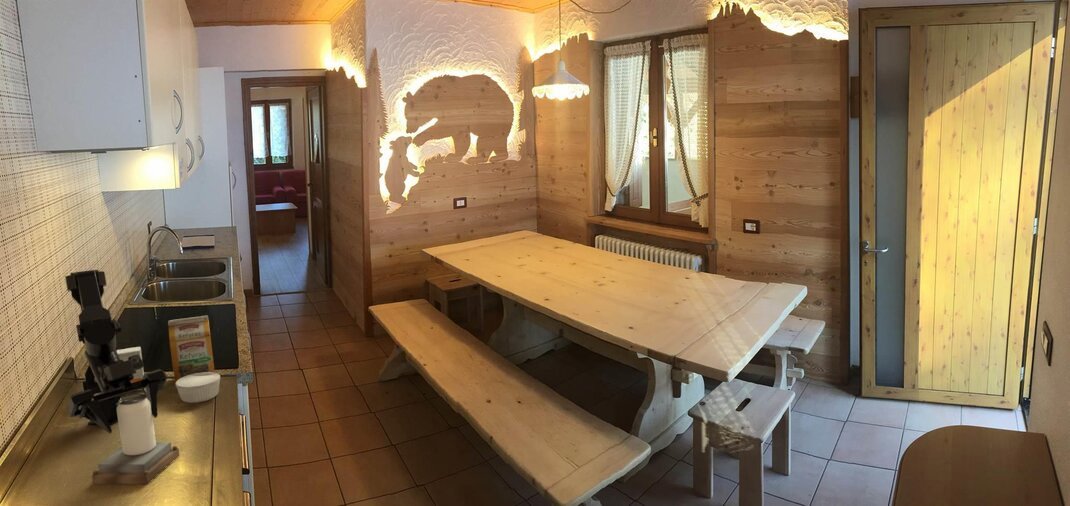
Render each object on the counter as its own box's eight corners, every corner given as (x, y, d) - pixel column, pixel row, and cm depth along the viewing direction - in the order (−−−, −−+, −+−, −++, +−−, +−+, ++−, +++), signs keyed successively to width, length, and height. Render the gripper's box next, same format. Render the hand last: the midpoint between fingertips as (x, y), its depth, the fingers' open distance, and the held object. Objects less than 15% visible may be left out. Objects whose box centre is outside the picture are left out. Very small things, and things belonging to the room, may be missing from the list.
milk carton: (214, 370, 209) (207, 311, 205) (215, 381, 199) (208, 320, 196) (176, 376, 204) (168, 316, 200) (175, 388, 195) (167, 325, 191)
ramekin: (224, 386, 196) (222, 369, 195) (219, 401, 185) (217, 383, 184) (181, 392, 192) (179, 374, 191) (174, 407, 182) (172, 389, 181)
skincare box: (120, 394, 191) (115, 354, 189) (122, 388, 195) (116, 349, 193) (145, 389, 194) (139, 350, 192) (146, 384, 198) (140, 346, 195)
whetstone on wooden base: (93, 483, 143) (90, 466, 143) (128, 456, 155) (126, 440, 154) (147, 484, 143) (145, 466, 142) (179, 456, 155) (177, 440, 154)
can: (140, 458, 146) (133, 406, 144) (115, 455, 147) (108, 404, 145) (163, 444, 152) (156, 394, 150) (139, 441, 154) (132, 392, 151)
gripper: (63, 358, 139) (91, 422, 134) (158, 335, 153) (186, 392, 149) (56, 385, 145) (83, 447, 141) (147, 360, 159) (174, 416, 155)
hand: (134, 424), depth 146 cm, fingers open, 9 cm apart
